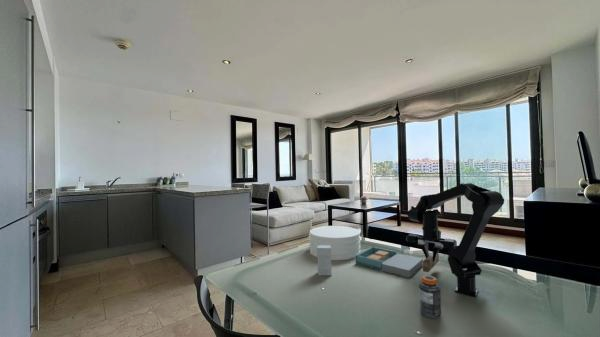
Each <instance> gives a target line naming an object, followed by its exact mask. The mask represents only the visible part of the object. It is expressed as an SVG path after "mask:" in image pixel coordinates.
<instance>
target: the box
mask: <svg viewBox="0 0 600 337" xmlns="http://www.w3.org/2000/svg"><path fill="white" fill-rule="evenodd" d="M379 250H380V251H385V252H389V257H388V258H387V259H385V260H383V259H382V261H380V260H375V259H371V258H368V257H369V256H371V255H372V254H373V255H375V253H376V252H378V251H379ZM360 252H361V253H359V254H358V255H356V257H355V265H359V266H362V267H366V268H367V267H368V268H371V269H375V270H379V271H382V264H383V263H384V262H385V261H387V260H388V259H390V258H391V257H393V256H394V255H396V254H398V253H397V251H396V250H391V249H387V248H380V247H376V246H370V247H369V248H367V249H364V250H363V251H360Z"/></svg>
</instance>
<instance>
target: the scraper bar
mask: <svg viewBox="0 0 600 337" xmlns="http://www.w3.org/2000/svg"><path fill="white" fill-rule="evenodd" d="M439 255H440V254H439V252H438V254H437V257H436V260H435V262H433V252H432V253H431V254H429V256H428V257H427V258H426V257H425V259H424V260H423V265H422V272H425V273H429V272H430V271H432V269H434V267H435V266H436V265H437V264H438V263H439Z"/></svg>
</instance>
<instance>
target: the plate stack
mask: <svg viewBox="0 0 600 337" xmlns="http://www.w3.org/2000/svg"><path fill="white" fill-rule="evenodd" d="M318 245H330V246H331V261H345V260H351V259H356V255H358V254H359V253H360V252H361V231H360V229H357V228H355V227H351V226H343V225H324V226H317V227H314V228H312V229H310V230H309V252H310V254H311V255H312V256H314V257H315V258H318V257H317V246H318Z"/></svg>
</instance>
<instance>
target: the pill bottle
mask: <svg viewBox="0 0 600 337" xmlns="http://www.w3.org/2000/svg"><path fill="white" fill-rule="evenodd" d="M421 279H422V280H421V282H419V285H418V286H419V287H418V288H419V289H418V293H419V295H418V296H419V312H420V313H421V314H422V315H423V316H424V317H427V318H429V319H439V318H440V317H442V302H441V287H440V285H438V284H437V278H436V277H435V276H432V275H422V278H421Z"/></svg>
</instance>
